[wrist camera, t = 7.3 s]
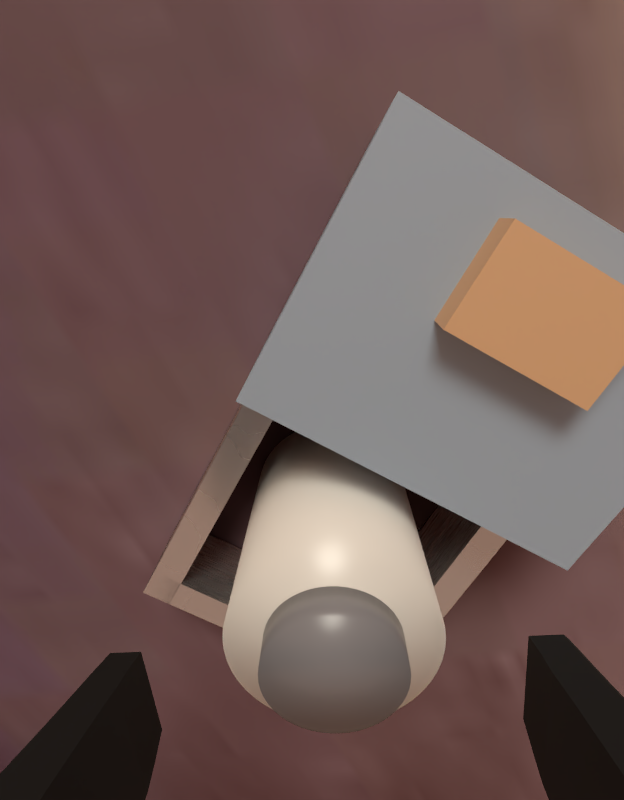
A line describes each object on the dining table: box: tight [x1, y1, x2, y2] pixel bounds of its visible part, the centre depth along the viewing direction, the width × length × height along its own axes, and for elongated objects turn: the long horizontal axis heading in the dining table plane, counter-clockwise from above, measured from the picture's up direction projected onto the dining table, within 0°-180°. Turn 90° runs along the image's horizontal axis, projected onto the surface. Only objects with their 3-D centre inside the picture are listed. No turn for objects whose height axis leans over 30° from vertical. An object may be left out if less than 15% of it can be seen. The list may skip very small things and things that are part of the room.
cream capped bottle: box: [222, 432, 446, 733], centre depth 13 cm, size 4×4×7 cm
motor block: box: [236, 91, 624, 570], centre depth 11 cm, size 8×6×5 cm
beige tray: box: [143, 404, 507, 628], centre depth 15 cm, size 8×8×2 cm
